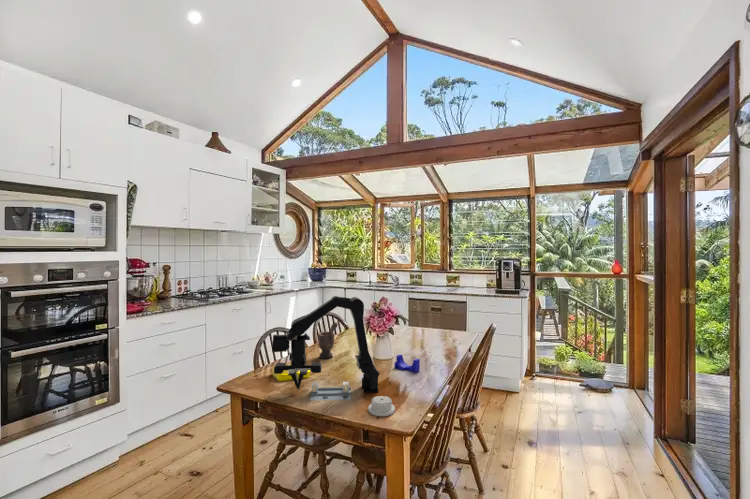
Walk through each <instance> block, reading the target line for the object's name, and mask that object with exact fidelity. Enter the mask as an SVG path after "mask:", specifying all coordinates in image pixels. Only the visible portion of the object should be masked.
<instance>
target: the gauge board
mask: <svg viewBox="0 0 750 499" xmlns="http://www.w3.org/2000/svg"><path fill="white" fill-rule="evenodd" d="M349 383H350V382H349V381H343V382H342V386H338V387H337V386H336V387H335V386H334V387H333V386H331V387H319V391H318V393H312V392H311V393H310V398H309V401H343V400H345V401H348V400H350V401H351V399H352V396H351V394H352V393H351V390H352V389H351V388H352V387H351V386H349V385H350V384H349Z"/></svg>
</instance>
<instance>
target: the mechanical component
mask: <svg viewBox="0 0 750 499" xmlns="http://www.w3.org/2000/svg"><path fill="white" fill-rule="evenodd" d="M392 400H393V399H391V398H390V397H389V396H387V395H385V396H382V395H379V396H374V397H372V398H371V403H370V404H369V405H368V410H367V411H368V413H369V414H371V415H373V416H375V417H376V416H377V417H388V416H391V415H393V414H394V413H395V411H396V407H395V405H394V404H393V401H392Z"/></svg>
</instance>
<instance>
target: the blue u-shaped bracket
mask: <svg viewBox="0 0 750 499" xmlns="http://www.w3.org/2000/svg"><path fill="white" fill-rule="evenodd" d="M395 360H396V361H395V362H394V369H397V370H401V371H409V372H412V373H415V374H416V373H419V372H420V364H421V362H420V358H415V359H413V362H412V364H411V365H409V364H407V363H406V362H405V360H404V358H403V354H398V355H396V359H395Z"/></svg>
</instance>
